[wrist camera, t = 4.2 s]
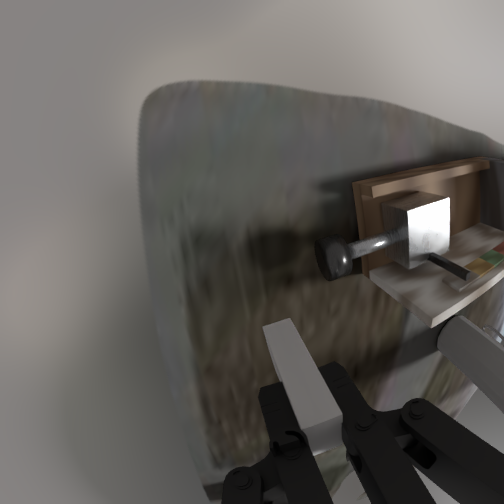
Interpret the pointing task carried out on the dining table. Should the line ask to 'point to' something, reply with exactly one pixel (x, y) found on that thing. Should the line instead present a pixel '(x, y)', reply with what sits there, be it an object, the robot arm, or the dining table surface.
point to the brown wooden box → (460, 242)
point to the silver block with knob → (397, 238)
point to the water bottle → (475, 356)
